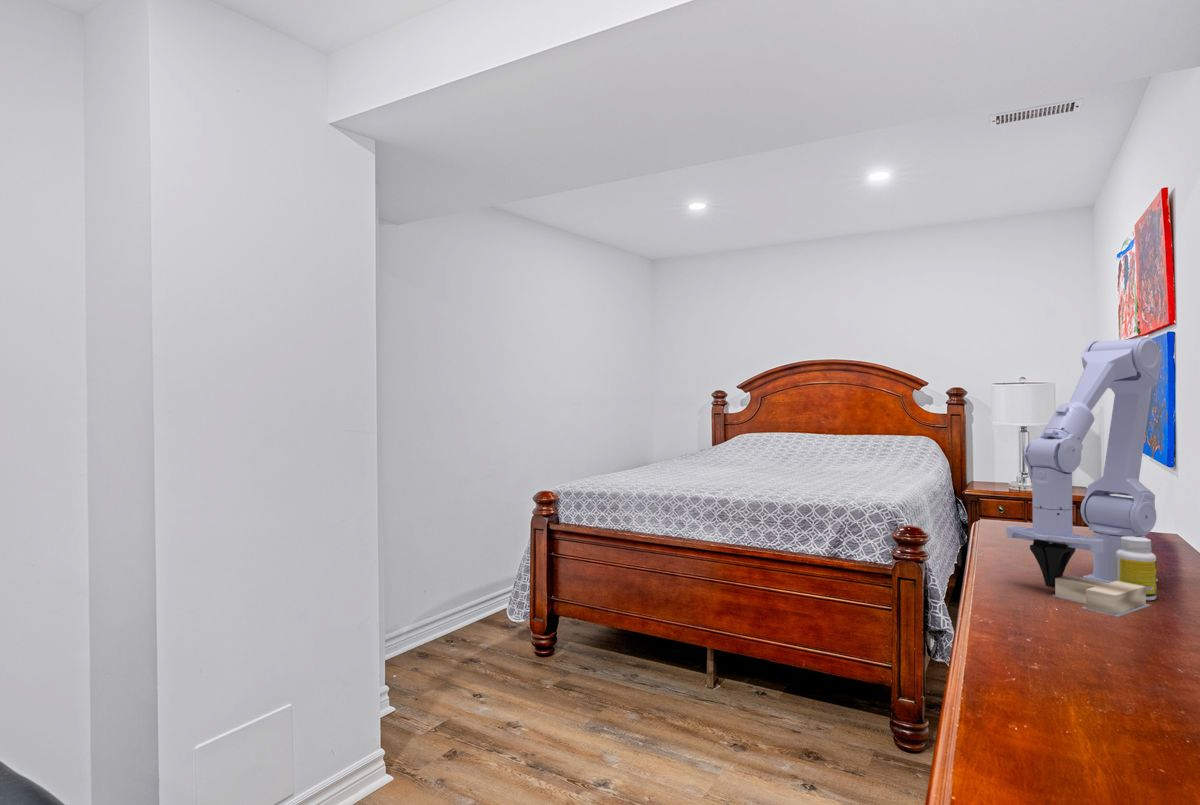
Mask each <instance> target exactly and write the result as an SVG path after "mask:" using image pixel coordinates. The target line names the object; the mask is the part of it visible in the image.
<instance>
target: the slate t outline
mask: <svg viewBox="0 0 1200 805" xmlns="http://www.w3.org/2000/svg"><path fill="white" fill-rule="evenodd" d="M1050 596H1051V597H1054V598H1059V599H1063V600H1066V601H1071V602H1075V603H1080V604H1084V602H1080V601H1075V600H1071V599H1067V598H1062V597H1058V596H1055V594H1052V595H1050ZM1150 606H1152V604H1148V603H1146V605H1144V606H1141V607H1138V608H1135V609H1132V610H1129V611H1126V612H1123V613H1120V614H1117V615H1113V614H1108V613H1104V612H1100V611H1096V610H1092V609H1087V608H1086V603H1085V606H1082V607H1081V609H1084V610H1088V611H1091V612H1096V613H1100V614H1104V615H1109V616H1113V617H1117V618H1118V617H1121V616H1124V615H1127V614H1130V613H1132V612H1133V613H1134V612H1136V611H1139V610H1143V609H1144V608H1148V607H1150Z"/></svg>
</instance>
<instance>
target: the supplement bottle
mask: <svg viewBox="0 0 1200 805" xmlns="http://www.w3.org/2000/svg"><path fill="white" fill-rule="evenodd" d="M1121 546H1122V549H1120V550H1118V551H1117V552H1116V581H1121V582H1127V583H1132V584H1137V585H1142V586H1146V601H1154V600H1156V599H1157V592H1158V591H1157V584H1158V583H1157V582H1156V579H1157V556H1156V555H1155V554H1154V553H1153V552H1152V551H1151V552H1149V549H1151V550H1152V540H1151V539H1149V538H1147V537H1146V538H1142V537H1132V536H1124V537H1121Z"/></svg>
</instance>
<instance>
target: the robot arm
mask: <svg viewBox="0 0 1200 805" xmlns="http://www.w3.org/2000/svg"><path fill="white" fill-rule="evenodd" d="M1161 362H1162V352H1161V351H1160V348H1159V347H1158V344H1157V343H1156V341H1155V340H1154V339H1152V337H1148V336H1142V337H1140V338H1138V337H1137V338H1129V339H1128V338H1127V339H1116V340H1115V339H1114V340H1104V341H1103V340H1101V341H1099V340H1095V341H1094V340H1093V341H1091V342H1089V343H1088V345H1087V346H1086V347H1085V349H1084V352H1083V354H1082V355H1081V364H1082V368H1083V372H1082V373H1081V376H1080V378H1079V380H1078V382H1077V385H1076V387H1075V389H1074V391H1073V393H1072V396H1071V398H1070V400H1069V402H1068V403H1063V404H1059V405H1058V407H1057V408H1056V410H1055V412H1054V413H1053V414H1052V416H1051V419H1049V421H1048V423H1047V425H1046V426H1045V428H1044V429H1043V431H1042V433H1041V435H1040V436H1039V437H1037V438H1035V439H1033V440H1031V441H1029V443H1028V444H1027V445H1026V447H1025V452H1024V453H1023V461H1024V463H1025V465H1026V467H1027V469H1028V477H1029V479H1030V480H1031V482H1032V484H1031V485H1032V489H1031V490H1032V493H1031V494H1032V495H1031V496H1032V500H1031V501H1032V527H1023V526H1016V525H1010V526H1006V538H1009V539H1018V540H1024V541H1030V542H1032V544H1030V545H1029V550H1030V551H1031V553H1032V555H1033V556H1034V558H1035V560H1036V562H1037V564H1038V566H1039V569H1040V572H1041V573H1042V577H1043V580H1044V585H1045V587H1048V588H1052V589H1055V578H1058V577H1062V576H1064V573H1065V570H1066V568H1067V566H1068V563H1069V561H1070V560H1071V559H1072V556H1073V555H1074V554H1075V553H1076V549H1079V550H1082V551H1083V550H1085V551H1089V552H1091V553H1092V556H1093V557H1092V558H1093V563H1092V565H1093V566H1092V567H1093V571H1092V573H1090V574H1087V575H1083V576H1082V578H1085V579H1090V580H1095V581H1100V582H1105V583H1110V582H1114V581H1116V552H1117V551H1118V550H1120V549H1122V546H1121V537H1124V536H1132V537H1142V538H1147V537H1146V536H1148V534H1149V533H1150V532H1151V531H1152V530H1153V528H1154V527H1155V525H1156V522H1157V510H1156V505H1155V504H1156V503H1155V500H1156V495H1155V493H1154V492H1152V491H1151V490H1150V489H1149V487H1148V488H1147V486H1145V484H1143V483H1141V481H1140V474H1141V466H1142V462H1143V461H1142V460H1143V452H1144V446H1145V441H1146V440H1145V438H1146V432H1147V431H1146V430H1147V426H1148V417H1149V412H1150V411H1149V410H1150V403H1151V396H1152V388H1154V387H1156V386H1157V385H1158V381H1159V376H1160V370H1161V369H1160V368H1161ZM1107 389H1110V390H1111V391H1112V392H1113V394H1114V397H1113V405H1112V413H1111V420H1110V426H1109V434H1108V438H1107V439H1108V440H1107V448H1106V453H1105V461H1104V467H1103V475H1102V476H1101V477H1100V478H1098V479H1097V480H1095V481H1093V482H1091V483H1089V484H1088V485H1087V491H1086V493H1085V495H1084V498H1083V500H1082V501H1081V504H1080V515H1081V516H1080V517H1081V518H1082V520H1083V521H1084V523H1085V524H1086V525H1087V526H1088V530H1089V531H1092V537H1089V536H1085V535H1081V534H1076V533H1073V526H1074V525H1073V524H1074V523H1073V472H1074V471H1076V470H1077V468H1078V467H1079V466H1080V465H1081V460H1082V451H1083V448H1084V445H1083V444H1082V443H1083V441H1084V440H1085V437H1086V436H1087V434H1088V433H1089V431H1090V429H1091V427H1092V425H1093V423H1094V422H1095V416H1094V414H1093V413H1092V410H1093V409H1094V407H1095V406H1096V405H1097V403H1098V402H1099V400H1100V399H1101V398H1102V397H1103V395H1104V393H1105V392H1106V391H1107ZM1149 552H1151V553H1152V548H1151V549H1149ZM1157 582H1158V578H1156V583H1157Z"/></svg>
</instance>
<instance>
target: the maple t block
mask: <svg viewBox="0 0 1200 805" xmlns="http://www.w3.org/2000/svg"><path fill="white" fill-rule="evenodd" d="M1054 590H1055V591H1054V592H1055V596H1058V597H1062V598H1067V599H1071V600H1075V601H1080V602H1084V603H1086V604H1085V606H1086V608H1087V609H1092V610H1096V611H1100V612H1104V613H1108V614H1113V615H1117V614H1120V613H1123V612H1126V611H1129V610H1132V609H1135V608H1138V607H1141V606H1144V605H1146V604H1147V600H1146V586H1142V585H1137V584H1132V583H1127V582H1121V581H1114V582H1110V583H1105V582H1100V581H1095V580H1090V579H1085V578H1083V577H1080V576H1074V575H1070V574H1067V575H1063V576H1062V577H1058V578H1055V588H1054ZM1058 597H1057V598H1058ZM1062 598H1061V599H1062ZM1067 599H1066V600H1067ZM1071 600H1070V601H1071ZM1075 601H1074V602H1075ZM1084 603H1083V604H1084ZM1087 609H1086V610H1087ZM1100 612H1099V613H1100ZM1104 613H1103V614H1104ZM1108 614H1107V615H1108Z"/></svg>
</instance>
